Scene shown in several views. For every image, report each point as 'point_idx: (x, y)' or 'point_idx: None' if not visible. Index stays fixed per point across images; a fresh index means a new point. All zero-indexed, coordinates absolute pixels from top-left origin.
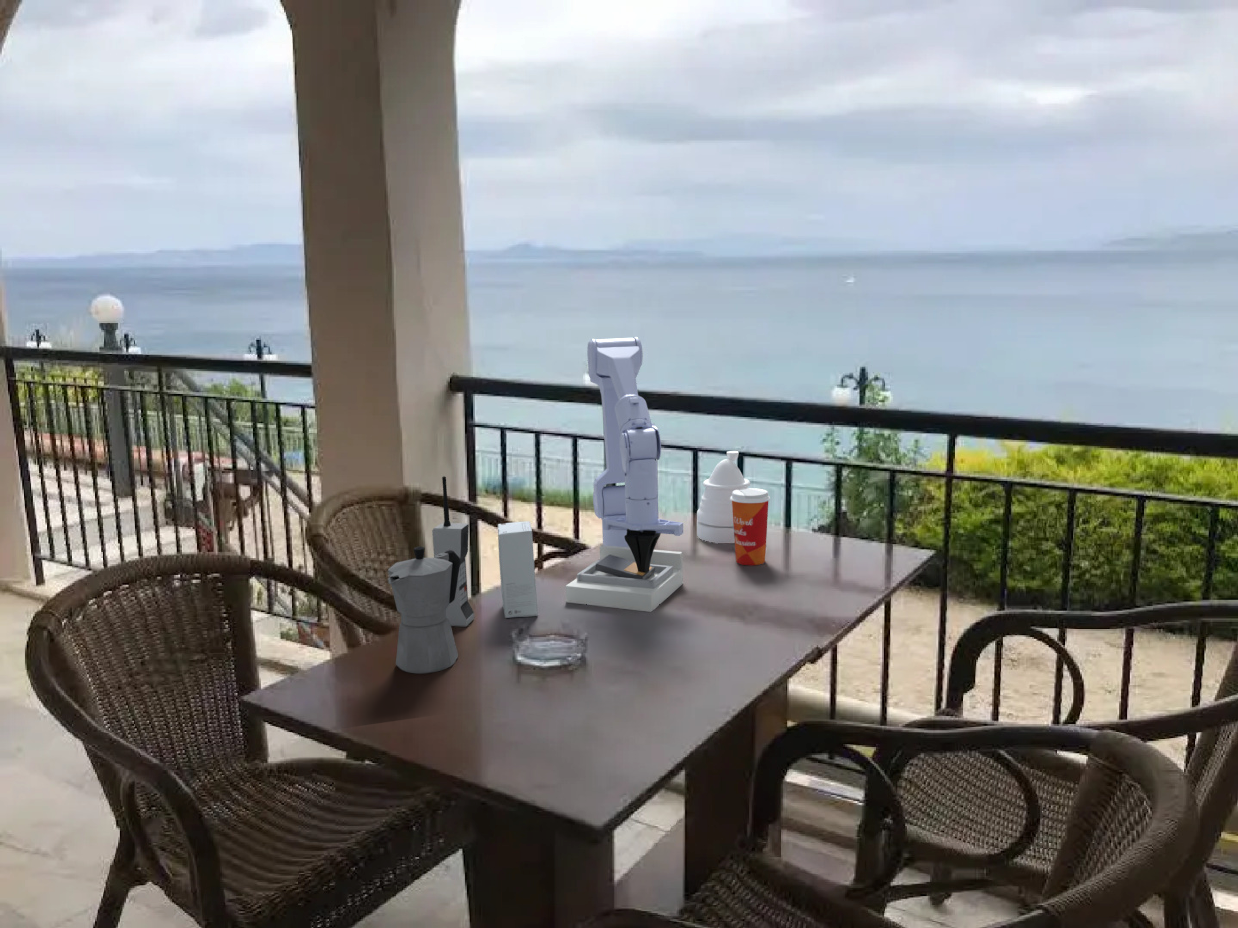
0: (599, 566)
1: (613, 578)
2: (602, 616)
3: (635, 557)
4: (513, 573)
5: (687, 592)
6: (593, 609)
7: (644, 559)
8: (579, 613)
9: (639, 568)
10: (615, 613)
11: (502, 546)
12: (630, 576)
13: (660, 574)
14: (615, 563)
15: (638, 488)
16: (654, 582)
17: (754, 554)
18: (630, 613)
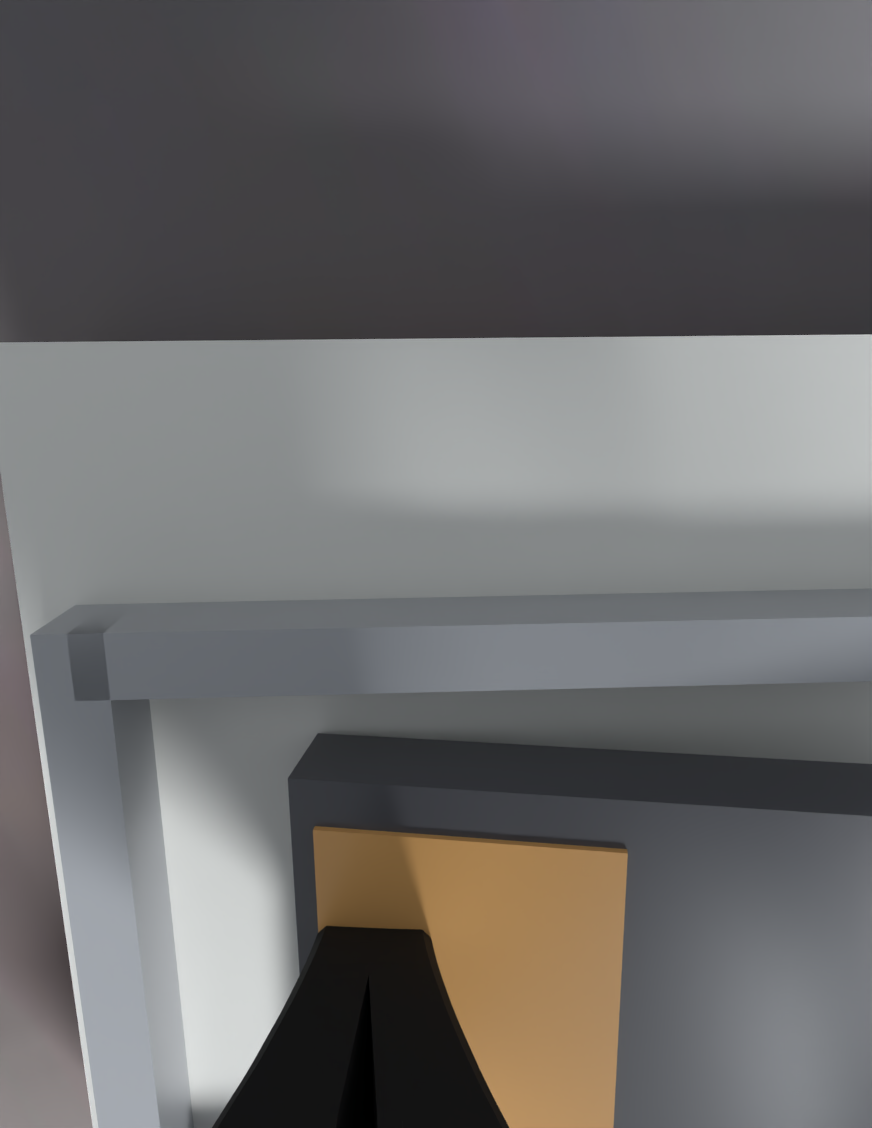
0: None
1: (695, 619)
2: (545, 25)
3: (461, 1101)
4: None
5: (30, 990)
6: (727, 224)
7: (264, 1088)
8: (836, 36)
9: (395, 954)
10: (443, 178)
11: None
12: (481, 766)
13: (109, 966)
14: (839, 1020)
15: None
16: (43, 659)
17: None
18: (284, 234)
